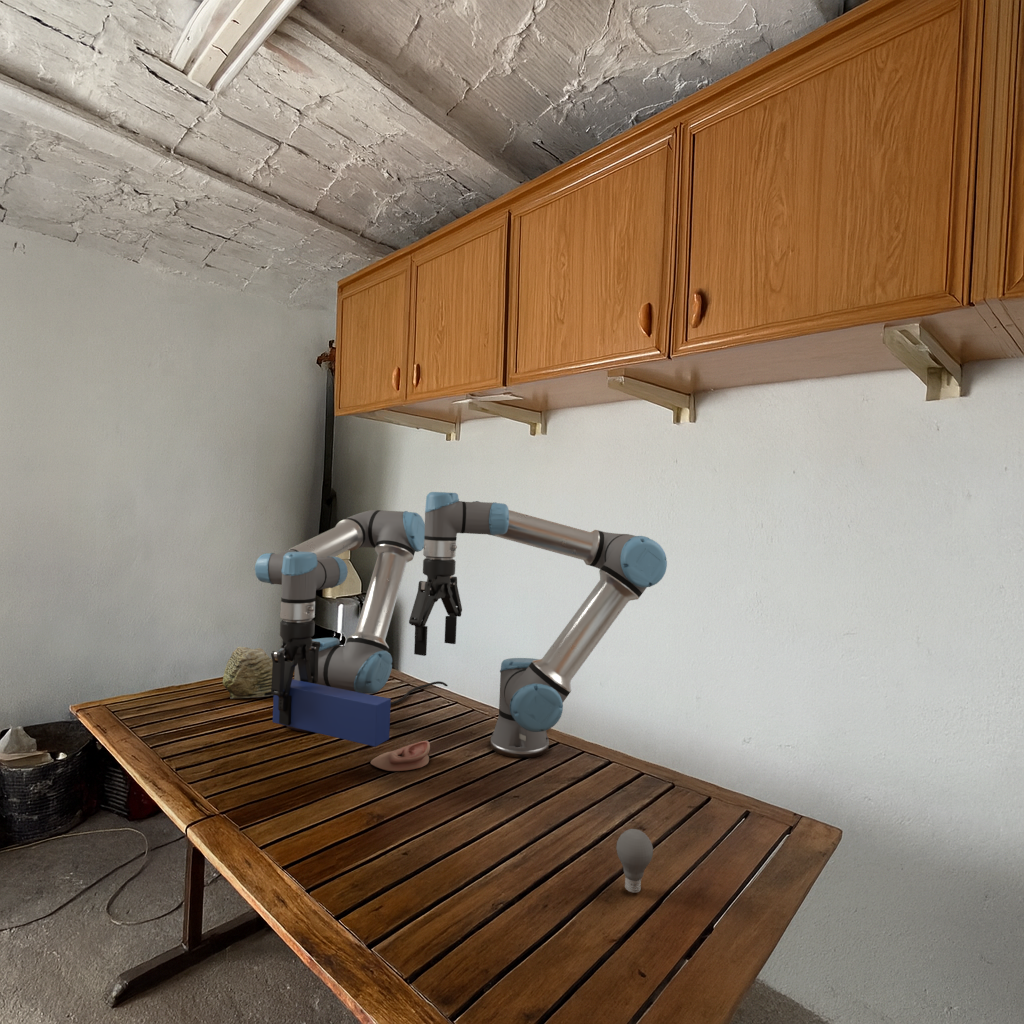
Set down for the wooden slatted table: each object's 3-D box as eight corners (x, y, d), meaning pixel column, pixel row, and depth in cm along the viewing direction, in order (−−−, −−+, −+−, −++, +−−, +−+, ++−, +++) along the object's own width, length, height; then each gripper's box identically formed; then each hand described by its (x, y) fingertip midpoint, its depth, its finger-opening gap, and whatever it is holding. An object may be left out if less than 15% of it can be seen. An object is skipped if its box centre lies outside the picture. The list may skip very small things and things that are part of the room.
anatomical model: (365, 751, 148) (384, 733, 160) (364, 767, 148) (384, 749, 160) (419, 758, 146) (435, 740, 157) (418, 775, 146) (434, 756, 157)
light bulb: (610, 879, 108) (613, 822, 108) (644, 879, 109) (647, 822, 109) (619, 902, 102) (622, 840, 102) (655, 901, 103) (658, 840, 103)
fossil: (218, 695, 195) (220, 647, 195) (278, 685, 208) (279, 640, 207) (228, 703, 189) (230, 653, 188) (289, 692, 201) (290, 645, 201)
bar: (272, 722, 145) (273, 683, 145) (288, 715, 150) (289, 678, 150) (375, 747, 134) (377, 705, 133) (389, 739, 138) (390, 698, 138)
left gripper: (281, 628, 136) (277, 735, 136) (336, 615, 152) (333, 711, 153) (254, 624, 139) (251, 729, 139) (312, 611, 155) (308, 706, 156)
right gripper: (425, 563, 135) (421, 662, 135) (478, 556, 157) (474, 640, 158) (395, 560, 138) (391, 657, 138) (451, 553, 160) (448, 637, 161)
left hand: (294, 719), depth 146 cm, fingers closed on bar, 5 cm apart
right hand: (435, 648), depth 148 cm, fingers open, 13 cm apart
